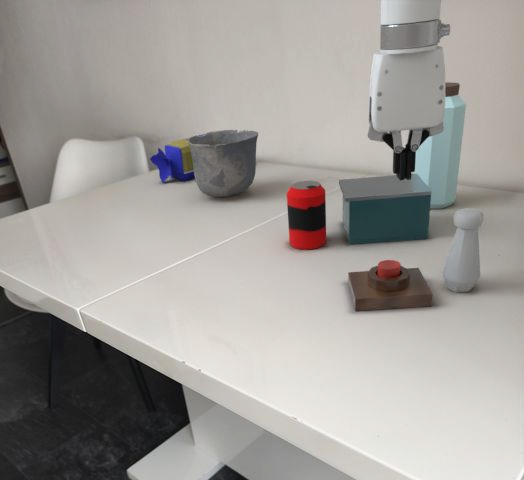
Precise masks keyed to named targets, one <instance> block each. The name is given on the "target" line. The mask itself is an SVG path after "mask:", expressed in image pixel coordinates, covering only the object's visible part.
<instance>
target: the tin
mask: <svg viewBox="0 0 524 480" xmlns="http://www.w3.org/2000/svg"><path fill="white" fill-rule="evenodd" d="M430 203H431V195H425V196H413V197H400V198H387V199H375V200H362V201H349V202H345V200H344V197H343V196H342V225H343V228H344V232H345V235H346V238H347V239H346V240H347V241H348V244H349V245H360V244H361V245H362V244H375V243H387V242H390V243H391V242H402V241H416V240H427V239H428V236H429V224H430V213H431V209H430Z"/></svg>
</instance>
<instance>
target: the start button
mask: <svg viewBox="0 0 524 480" xmlns="http://www.w3.org/2000/svg"><path fill="white" fill-rule="evenodd" d="M401 264H402V263H401V262H399V261H398V260H394V259H384V260H381V261H379V262H378V263H377V266H378V273H377V274H378V276H379V277H383V278H396V277H398V276H400V268H401V266H402V265H401Z"/></svg>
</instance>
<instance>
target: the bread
mask: <svg viewBox="0 0 524 480" xmlns="http://www.w3.org/2000/svg"><path fill="white" fill-rule="evenodd" d="M204 134H205V133H203V134H198V135H197V136H202V135H204ZM191 137H192V136H190V137H187V138H182V139H179V140H175V141H172V142H169V143H166V144H165V145H164V151H163V150H162V149H161V148H160V147H157V151H158V152H157V153H156V154H154V155H152V156H151V157H150V158H149V160H150V161H151V163H152V164H153V165H155V166H157V170H158V171H159V172H158V173H159V174H158V175H159V179H160V181H161V183H165V182H166V180H167V179H168V178H169V177H171V179H176V180H179V181H183V182H187V181H191V180H193V179H195V175H194V167H193V159H192V155H191V150H190V147H189V143H188V139H189V138H191Z"/></svg>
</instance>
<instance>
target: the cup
mask: <svg viewBox="0 0 524 480" xmlns="http://www.w3.org/2000/svg"><path fill="white" fill-rule="evenodd" d="M203 134H204V135H202V134H201V135H202V136H198V135H192V136H190V137H191V138H190V137H188V138H189V139H188V143H189V147H190V150H191V155H192V159H193V167H194V175H195V178H194V179H195V183H196V185H197V188H198V189H199V191H201V193H202V194H204V195H207V196H208V197H213V198H227V197H233V196H238V195H239V194H242V193H244V192H245V191H246V190H248V189H249V188H250V187H251V186H252V185H253V182H254V180H255V177H256V168H257V142H258V137H259V132H258V131H255V130H245V129H243V130H239V131H238V129H224V130H223V129H222V130H216V131H215V130H214V131H209V132H206V133H203Z"/></svg>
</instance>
